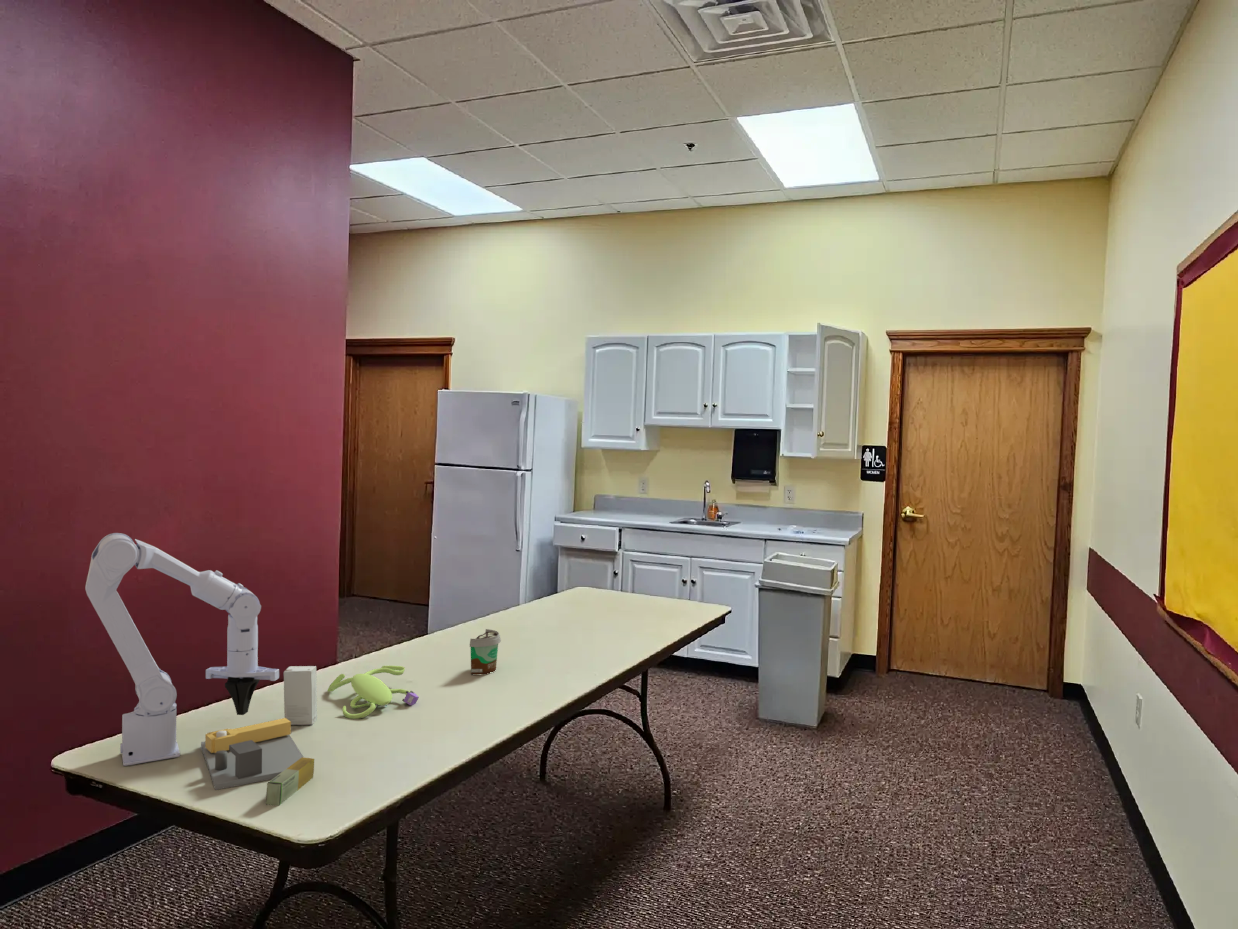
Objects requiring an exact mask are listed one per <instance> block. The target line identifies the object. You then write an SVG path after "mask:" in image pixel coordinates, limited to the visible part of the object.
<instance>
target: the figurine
mask: <svg viewBox="0 0 1238 929" xmlns="http://www.w3.org/2000/svg"><path fill="white" fill-rule="evenodd" d="M405 669H406V667H404V666H402V665H382V666H381V668H375V669H371V670H367V672H364V673H356V674H354V675H353V676H352V677H346V675H345V674H344V673H341V674H339V675H337V677H336V678H335V679H334V680H333V681H332V683H331V684H329V686H328V688H327V692H330V693H331V692H334V691H335V690H337V689H339V688H341V687H343V686H345V685H347V684H351V687H352V689H353V690H354V692H355V693H356V694H357V696H355V697H353V699H352V700H351V701H350V705H349V706H350V707H351V708H352V709H358V708H363V707H367V706H369V707H368V708H367V709H366V710H364V711H363V712H360V713H353V714H352V713H350V712H348V711H347V706H346V705H343V706H342V714H343V716H344V717H345V718H347V719H351V720H360V719H363V718H366V717H368V716H369V715H370V714H371V713H373V712H374V711H375V710H376V708H377V707H378V706H382V707H387V706H388V704H390V703H391V702H392V699H393V694H403V695H405V697H404V698H402V702H403V703H406V704H408V705H409V706H414V705H415V704H417V701H418V700H419V696H418V695H417V693H415V692H414V691H412V690H408V689H403V688H390V687H388V685H386V684H385V683H384V682H383V681H382V680H381V679H380V678H378V677H376V676H375V674H382V673H384V674H385V673H387V674H390V675H393V676H402V675H403V674H404V672H405ZM345 677H346V678H345ZM361 700H364V701H366V702H367V703H366V702H365V703H363V704H358V705H356V704H357V703H358V702H359V701H361Z"/></svg>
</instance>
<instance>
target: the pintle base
mask: <svg viewBox="0 0 1238 929" xmlns="http://www.w3.org/2000/svg"><path fill="white" fill-rule="evenodd" d="M217 731H218V732H217V733H216V738H218V737H223V736H227V731H219V730H217ZM200 748H201V751H202V754H203V757H204V760H205V763H206V766H207V769H208V773H209V775H210V779H211V781H212V784H213V787H214V791H216V790H218V791H219V790H222V789H228V788H234V787H237V786H238V787H239V786H242V785H244V786H245V785H249V784H254V783H258V782H264V781H271V780H272V779H273V778H275V777H276V776H277V775H279V774H280V773H281V772H283V771H284V770H286V769H287V768H288V767H290V766H291V765H292V764H294V763H295V762H296V761H298V760H299V759H300V758H302V757H304V756H303V753H302V752H301V751H300V749H299V748H298V746H297V745H296V743H295V741H294V740H293V738H292V736H291V734H290V735H285V736H281V737H276V738H272V739H268V740H263V741H259V742H254V741H252V740H249V741H245V742H240V743H236V744H231V745H229V750H227V751H225V750H221V751H217V752H216V753H211V752H210V751H209V750H208V749H207V748H206V747H205V740H203V741H201V742H200Z"/></svg>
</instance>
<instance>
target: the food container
mask: <svg viewBox="0 0 1238 929" xmlns="http://www.w3.org/2000/svg"><path fill="white" fill-rule="evenodd" d="M500 643H502V639H501V635H500V632H499V631H497V630H494V629H489V628H485V632H484V633H482V634H479V635H478V636H477V637H476V638H470V640H469V648H470V675H471V674H486V675H488V674H487V673H490V672H493V671H495V670H496V671H497V662H498V650H499V644H500ZM496 671H495V672H496ZM493 673H494V672H493Z"/></svg>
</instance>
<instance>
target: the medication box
mask: <svg viewBox="0 0 1238 929" xmlns="http://www.w3.org/2000/svg"><path fill="white" fill-rule="evenodd" d="M314 772H315V758H312V757H311V758H310V757H304V756H303V757H302V758H300V759H299V760H298V761H296V762H295V763H294V764H292V765H291V766H290V767H288V768H287V769H286V770H284V771H283V772H281V773H280V774H279V775H277V776H276V777H275V778H273V779H270V780H268V782H267V783H266V794H265V798H266V799H265V805H266V806H277V807H280V806H281V804H283V803H284V802H285V801H287V800H288V799H290V797H292V796H293V795H294V794H295V793H296V792H298V791H299V790H300V789H301V788H303V787H304V786H305V785H306V784H307V783H309V782H310V781H311V780H313V778H314Z"/></svg>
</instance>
